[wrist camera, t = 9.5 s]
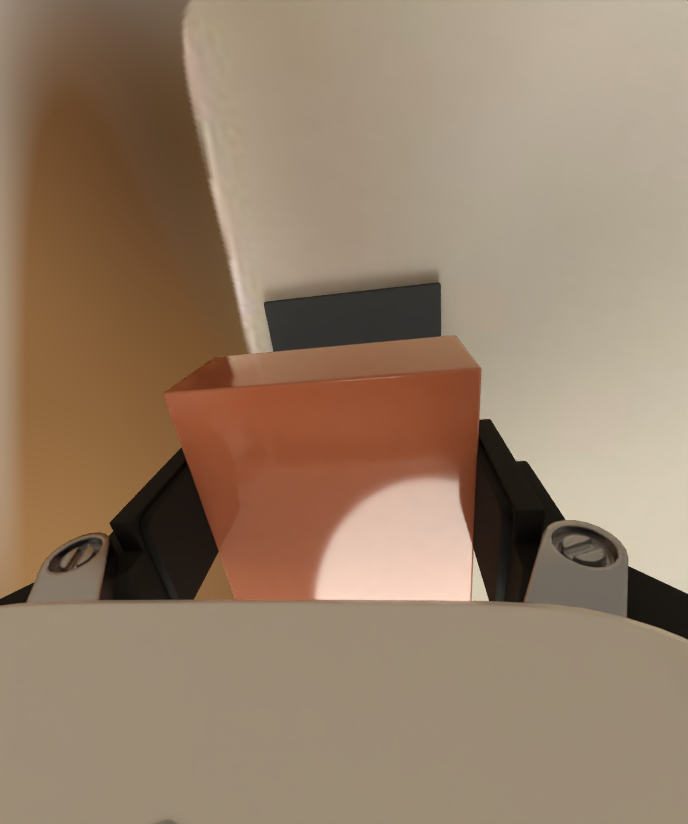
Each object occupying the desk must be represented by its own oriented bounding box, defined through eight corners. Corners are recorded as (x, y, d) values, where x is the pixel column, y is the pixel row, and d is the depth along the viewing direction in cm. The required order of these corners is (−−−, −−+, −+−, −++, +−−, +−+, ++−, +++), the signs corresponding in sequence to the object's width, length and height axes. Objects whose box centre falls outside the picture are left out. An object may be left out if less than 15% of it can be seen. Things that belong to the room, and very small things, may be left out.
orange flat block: (456, 334, 10) (482, 367, 8) (453, 531, 14) (472, 604, 11) (213, 356, 11) (161, 393, 9) (262, 535, 14) (235, 603, 12)
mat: (439, 282, 17) (440, 283, 17) (440, 439, 20) (441, 443, 20) (265, 301, 18) (263, 302, 18) (295, 447, 22) (293, 451, 21)
